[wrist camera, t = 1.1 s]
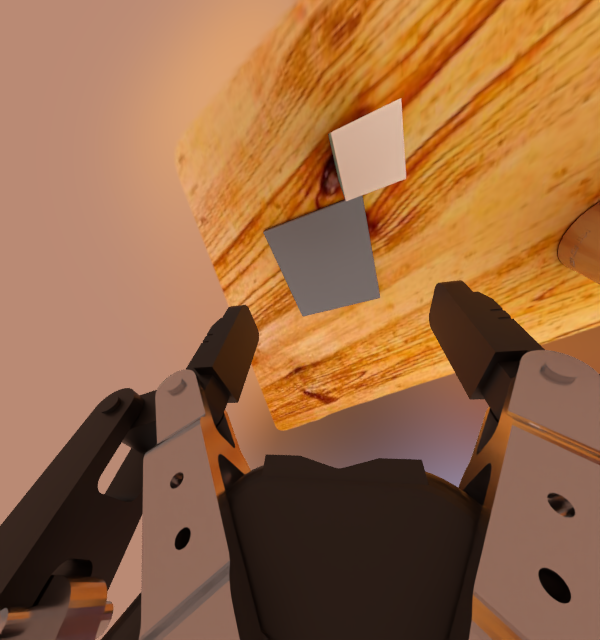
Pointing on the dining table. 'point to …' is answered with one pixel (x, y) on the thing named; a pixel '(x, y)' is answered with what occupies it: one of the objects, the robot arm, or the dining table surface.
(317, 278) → the mat
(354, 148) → the block
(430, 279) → the dining table surface
